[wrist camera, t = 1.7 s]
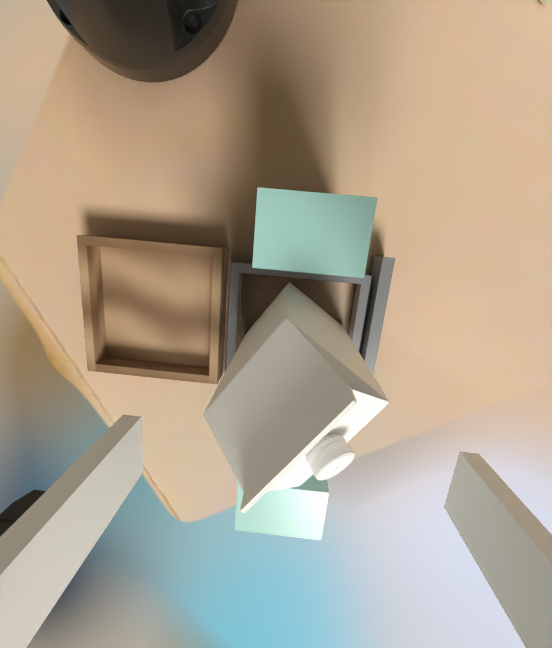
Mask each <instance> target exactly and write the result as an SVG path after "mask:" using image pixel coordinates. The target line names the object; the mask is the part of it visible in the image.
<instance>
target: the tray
mask: <svg viewBox="0 0 552 648" xmlns="http://www.w3.org/2000/svg"><path fill="white" fill-rule="evenodd" d="M77 244H78V257H79V269H80V281H81V293H82V306H83V318H84V330H85V343H86V355H87V367H88V371H96V372H106V373H115V374H125V375H134V376H143V377H153V378H162V379H172V380H181V381H191V382H200V383H210V384H217V383H218V381H219V380H220V378H221V376H222V374H223V360H224V338H225V316H226V295H227V273H228V251H229V248H223V247H212V246H201V245H190V244H180V243H169V242H158V241H147V240H136V239H126V238H115V237H104V236H90V235H77Z"/></svg>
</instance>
